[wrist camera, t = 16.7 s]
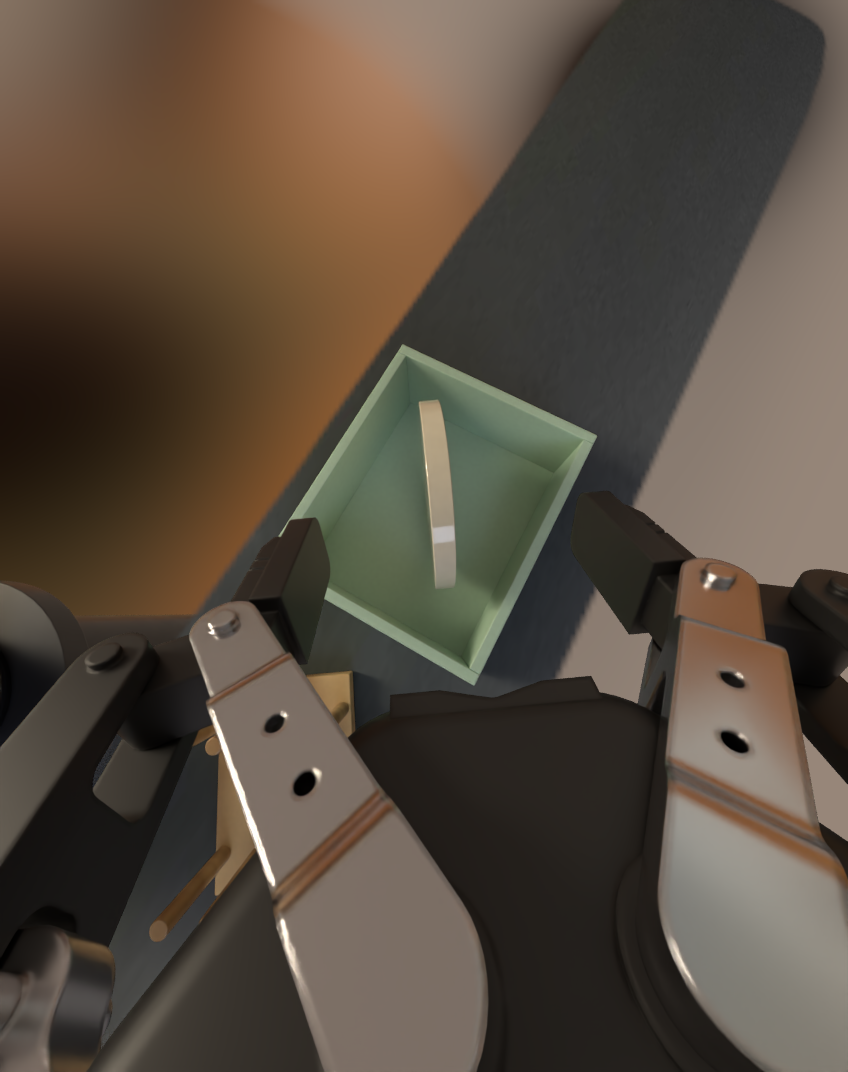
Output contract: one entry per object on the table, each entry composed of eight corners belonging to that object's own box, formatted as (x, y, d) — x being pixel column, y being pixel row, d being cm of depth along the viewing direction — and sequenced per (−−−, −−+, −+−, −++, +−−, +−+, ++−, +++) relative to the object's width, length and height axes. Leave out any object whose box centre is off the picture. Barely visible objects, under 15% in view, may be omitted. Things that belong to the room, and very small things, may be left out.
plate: (434, 594, 23) (436, 581, 13) (420, 453, 25) (414, 354, 16) (449, 593, 23) (463, 579, 13) (434, 452, 25) (437, 352, 16)
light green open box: (463, 668, 23) (474, 686, 17) (299, 573, 24) (261, 562, 19) (561, 473, 26) (597, 435, 20) (408, 398, 27) (402, 343, 22)
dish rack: (224, 882, 21) (142, 990, 15) (229, 681, 23) (160, 705, 17) (361, 869, 21) (334, 972, 15) (352, 670, 23) (326, 690, 17)
